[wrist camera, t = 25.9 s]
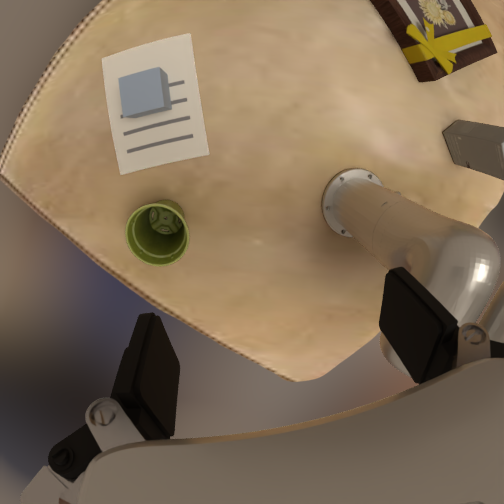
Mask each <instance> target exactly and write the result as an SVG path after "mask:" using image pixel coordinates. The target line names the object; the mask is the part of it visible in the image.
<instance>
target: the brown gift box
mask: <svg viewBox="0 0 504 504" xmlns="http://www.w3.org/2000/svg"><path fill="white" fill-rule="evenodd" d="M370 1H371V2H372V4H373V5H374V7H375V8H376V9H377V11H378V12H379V14H380V15H381V17H382V18H383V20H384V21H385V23H386V24H387V26H388V27H389V29H390V30H391V32H392V34H393V35H394V37H395V39H396V40H397V42H398V44H399V45H400V47H401V49H402V51H403V53H404V55H405V57H406V58H407V60H408V62H409V64H410V65H411V67H412V69H413V71H414V73H415V75H416V77H417V79H418V81H419V82H428V81H436V80H438V79H440V78H442V77H444V76H446V75H449V74H450V73H453V72H455V71H457V70H459V69H461V68H463V67H466V66H468V65H470V64H472V63H474V62H477V61H479V60H481V59H484V58H486V57H488V56H491V55H493V54H496V53H497V50H496V48H495V46H494V44H493V41H492V39H491V37H492V35H491V33H490V31H489V29H488V27H487V25H486V24H484V23H483V21H482V19H481V17H480V15H479V14H478V12H477V10H476V8H475V7H474V5H473V3H472V1H471V0H370Z"/></svg>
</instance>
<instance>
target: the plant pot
mask: <svg viewBox="0 0 504 504" xmlns="http://www.w3.org/2000/svg"><path fill="white" fill-rule="evenodd" d="M152 212H154V218H153V219H152ZM164 217H167V219H165V218H164ZM179 218H180V219H181V222H180V223H178V222H179ZM161 229H164V230H169V231H168V232H166V231H165V232H163V231H161ZM125 237H126V242H127V244H128V247H129V249H130V250H131V252H132V253H133V254H134V256H135V257H137V258H138V259H139V260H141V261H142V262H144V263H146V264H148V265H152V266H168V265H171V264H173V263H175V262H177V261H178V260H179V259H181V258H182V257H183V255H184V254H185V252H186V251H187V248H188V245H189V229H188V226H187V223H186V221H185V220H184V213H183V211H182V209H181V207H180V206H179V205H178V204H177V203H175V202H173V201H171V200H161V201H158V202H156V203H152V204H147V205H144V206H142V207H140V208H138V209H137V210H136V211H135V212H133V213H132V215H131V216H130V217H129V219H128V221H127V224H126V229H125Z"/></svg>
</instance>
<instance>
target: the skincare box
mask: <svg viewBox="0 0 504 504" xmlns="http://www.w3.org/2000/svg"><path fill="white" fill-rule="evenodd" d="M443 134H444V136H445V139H446V141H447V144H448V147H449V150H450V153H451V156H452V158H453V161H454V163H455V164H457V165H460V166H464V167H467V168H470V169H473V170H476V171H479V172H482V173H485V174H488V175H491V176H493V177H496V178H499V179H501V180H504V127H499V126H494V125H488V124H483V123H477V122H470V121H463V120H457V121H456V122H455V123H453V124H452V125H451V126H450V127H449V128H448V129H446V130H445V131H444V132H443Z"/></svg>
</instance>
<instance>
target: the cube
mask: <svg viewBox="0 0 504 504" xmlns="http://www.w3.org/2000/svg"><path fill="white" fill-rule="evenodd" d="M118 80H119V89H120V98H121V105H122V113H123V117H127V118H138V117H142V116H146V115H150V114H154V113H158V112H162V111H167V110H171V109H172V106H171V98H170V91H169V83H168V75H167V73H166V72H164V71H163V70H162V69H161V68H160V67H156V68H152V69H148V70H145V71H141V72H137V73H134V74H130V75H127V76H124V77H121V78H118Z"/></svg>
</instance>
